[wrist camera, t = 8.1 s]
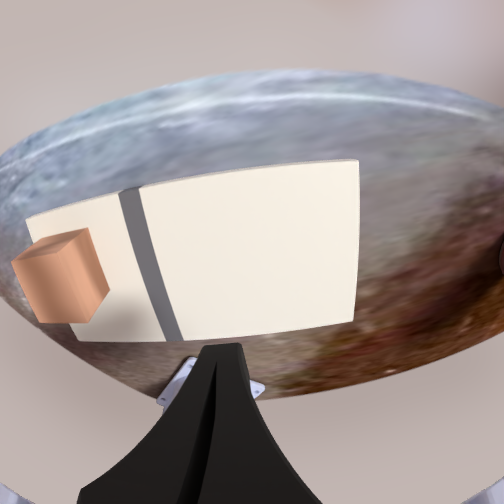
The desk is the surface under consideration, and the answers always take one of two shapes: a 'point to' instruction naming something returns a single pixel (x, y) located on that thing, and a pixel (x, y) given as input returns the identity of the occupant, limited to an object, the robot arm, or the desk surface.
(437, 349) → the desk surface
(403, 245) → the desk surface
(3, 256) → the desk surface
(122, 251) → the board
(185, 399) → the robot arm
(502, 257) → the beverage can
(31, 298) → the block
